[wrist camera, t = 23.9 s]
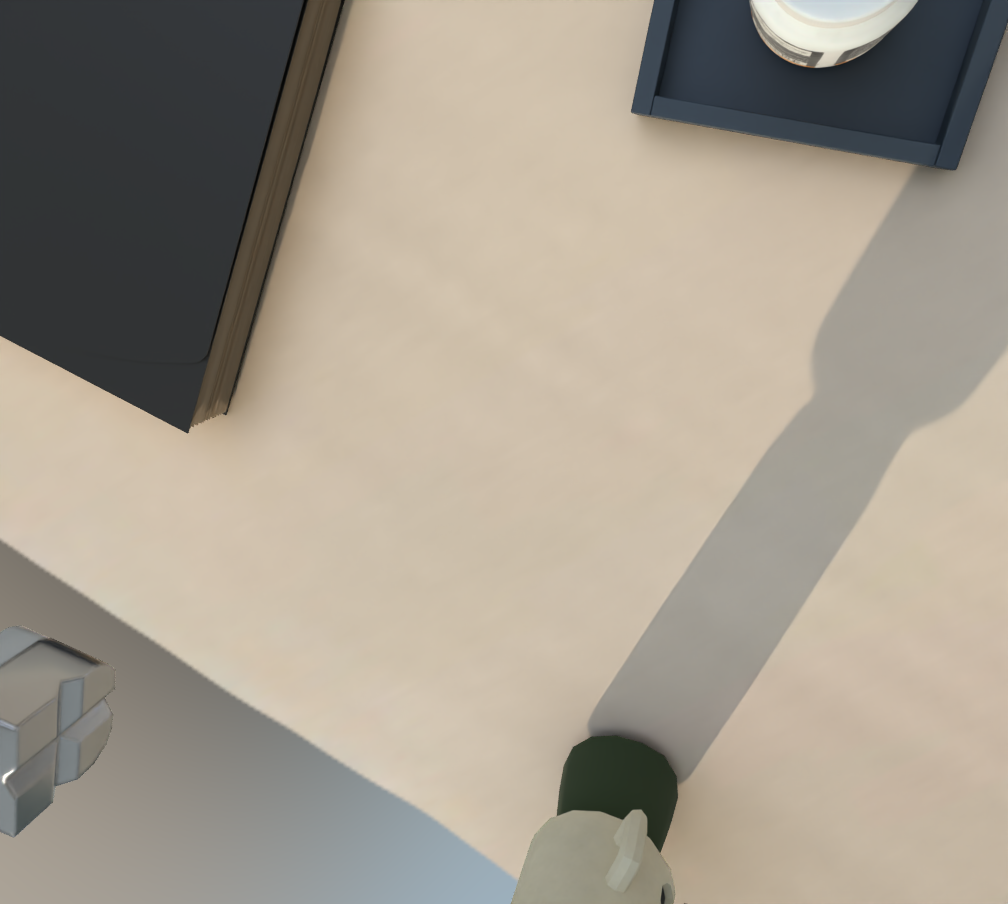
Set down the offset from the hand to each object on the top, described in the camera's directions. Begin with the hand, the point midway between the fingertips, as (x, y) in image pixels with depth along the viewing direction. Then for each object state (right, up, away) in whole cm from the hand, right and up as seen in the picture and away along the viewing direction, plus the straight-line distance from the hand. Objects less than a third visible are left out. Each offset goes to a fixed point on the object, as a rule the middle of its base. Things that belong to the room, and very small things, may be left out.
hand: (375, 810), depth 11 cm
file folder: (-24, +24, +33) cm, 47 cm away
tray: (+14, +23, +22) cm, 35 cm away
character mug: (+8, -13, +36) cm, 40 cm away
